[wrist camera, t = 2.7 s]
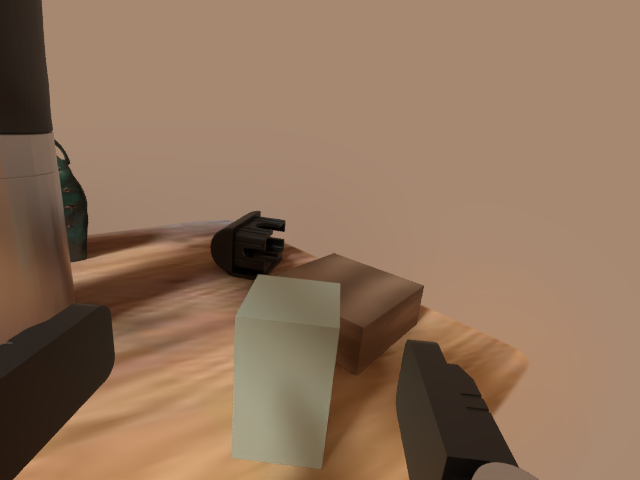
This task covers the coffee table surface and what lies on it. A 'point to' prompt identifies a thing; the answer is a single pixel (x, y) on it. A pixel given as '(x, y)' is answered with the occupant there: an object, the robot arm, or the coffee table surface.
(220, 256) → the end cap
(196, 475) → the coffee table surface
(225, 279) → the coffee table surface
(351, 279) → the walnut box
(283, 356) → the tall sage green block
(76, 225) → the green animal figurine
